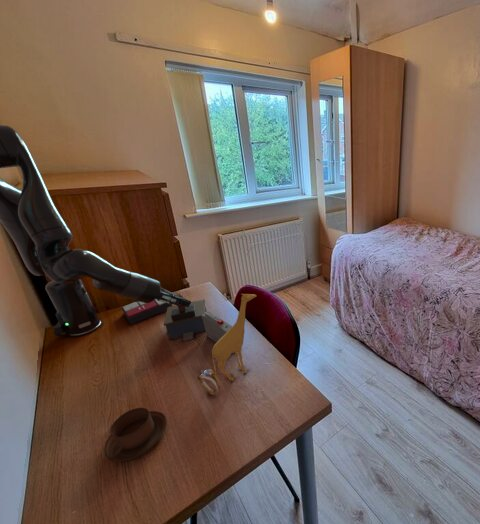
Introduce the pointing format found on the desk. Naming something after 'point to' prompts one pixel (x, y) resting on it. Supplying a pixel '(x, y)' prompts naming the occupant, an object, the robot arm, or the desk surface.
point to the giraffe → (232, 340)
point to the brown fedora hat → (134, 434)
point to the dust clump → (188, 336)
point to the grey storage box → (185, 321)
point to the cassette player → (215, 326)
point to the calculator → (144, 310)
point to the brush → (183, 312)
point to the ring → (205, 375)
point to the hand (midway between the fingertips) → (186, 302)
